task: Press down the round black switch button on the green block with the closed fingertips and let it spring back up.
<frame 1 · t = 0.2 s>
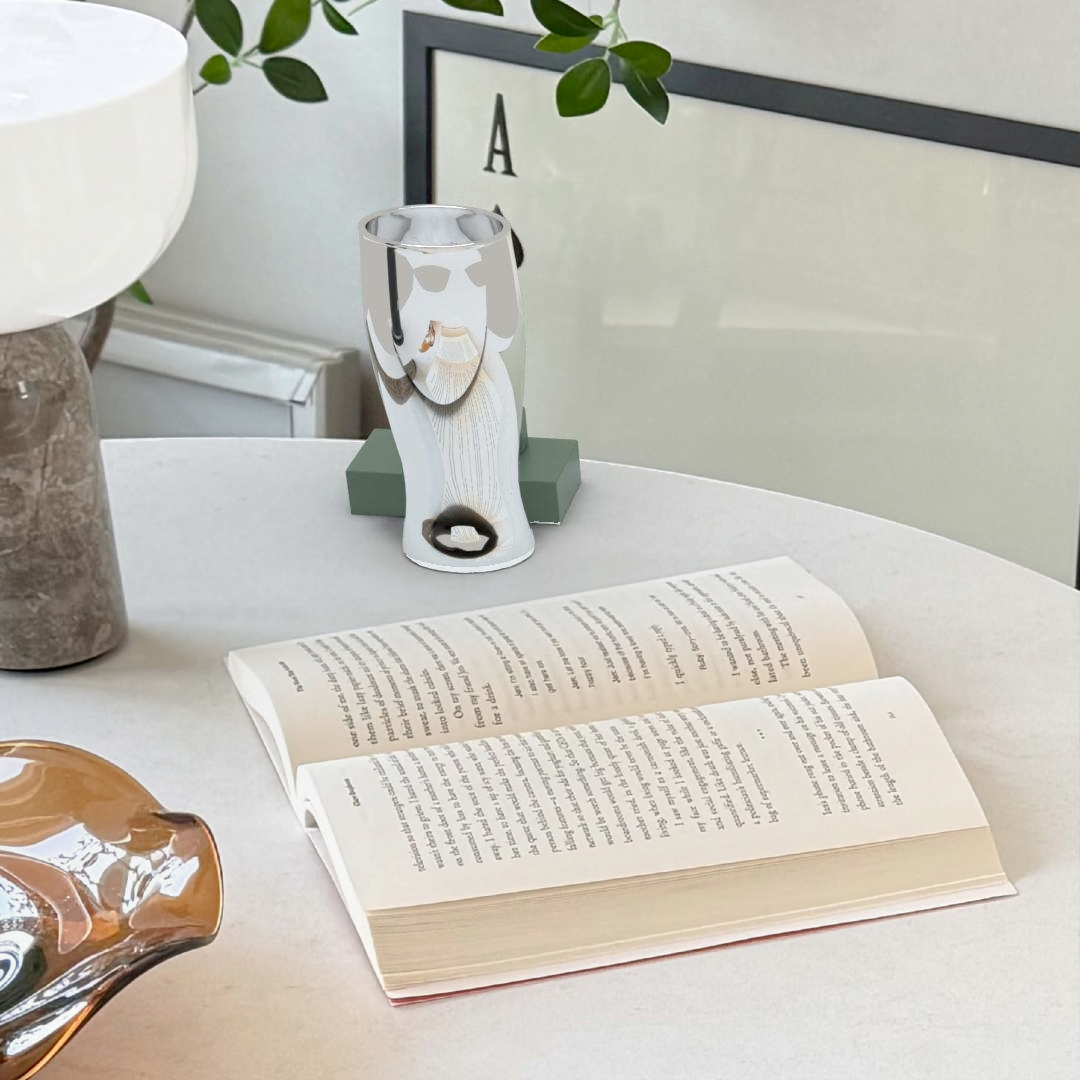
beer glass: (470, 553, 132), on the table
toaster button: (464, 399, 136), point 4 cm above the table, slide at 0.1 cm
green block: (468, 498, 137), on the table
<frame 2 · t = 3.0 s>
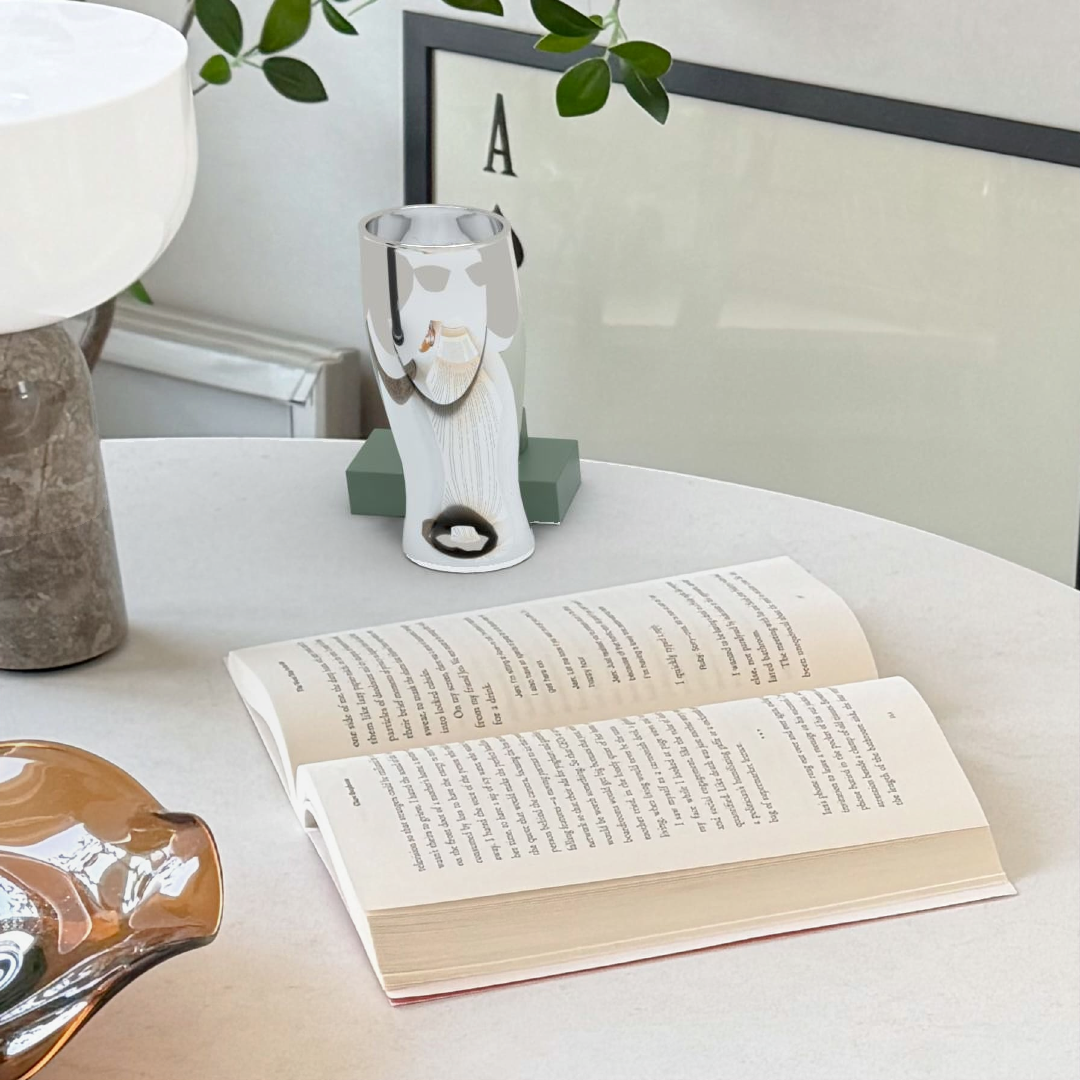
nothing on the table moved.
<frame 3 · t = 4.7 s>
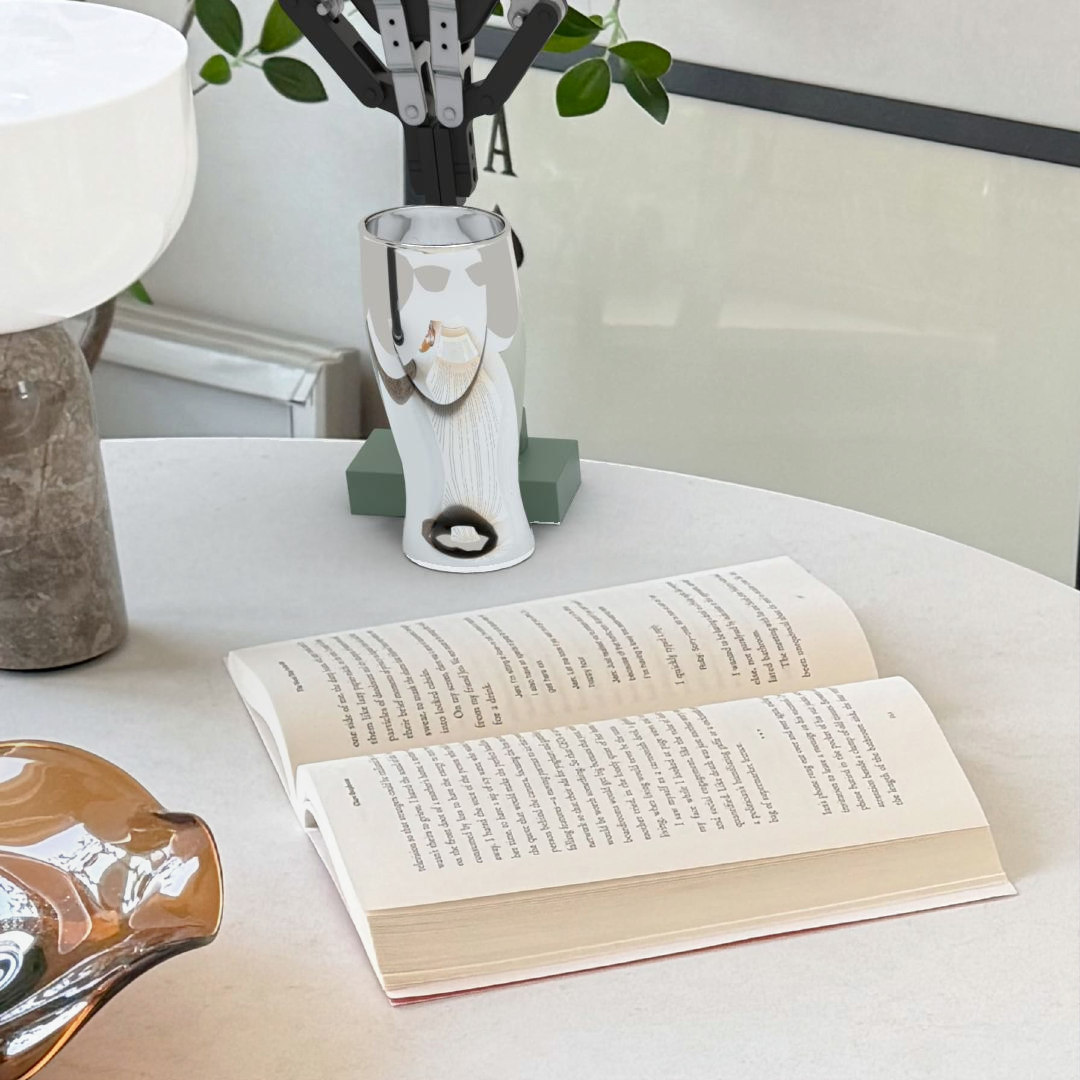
hand: (447, 204, 130), 14 cm above the table, tool pointing down, fingers closed
nothing on the table moved.
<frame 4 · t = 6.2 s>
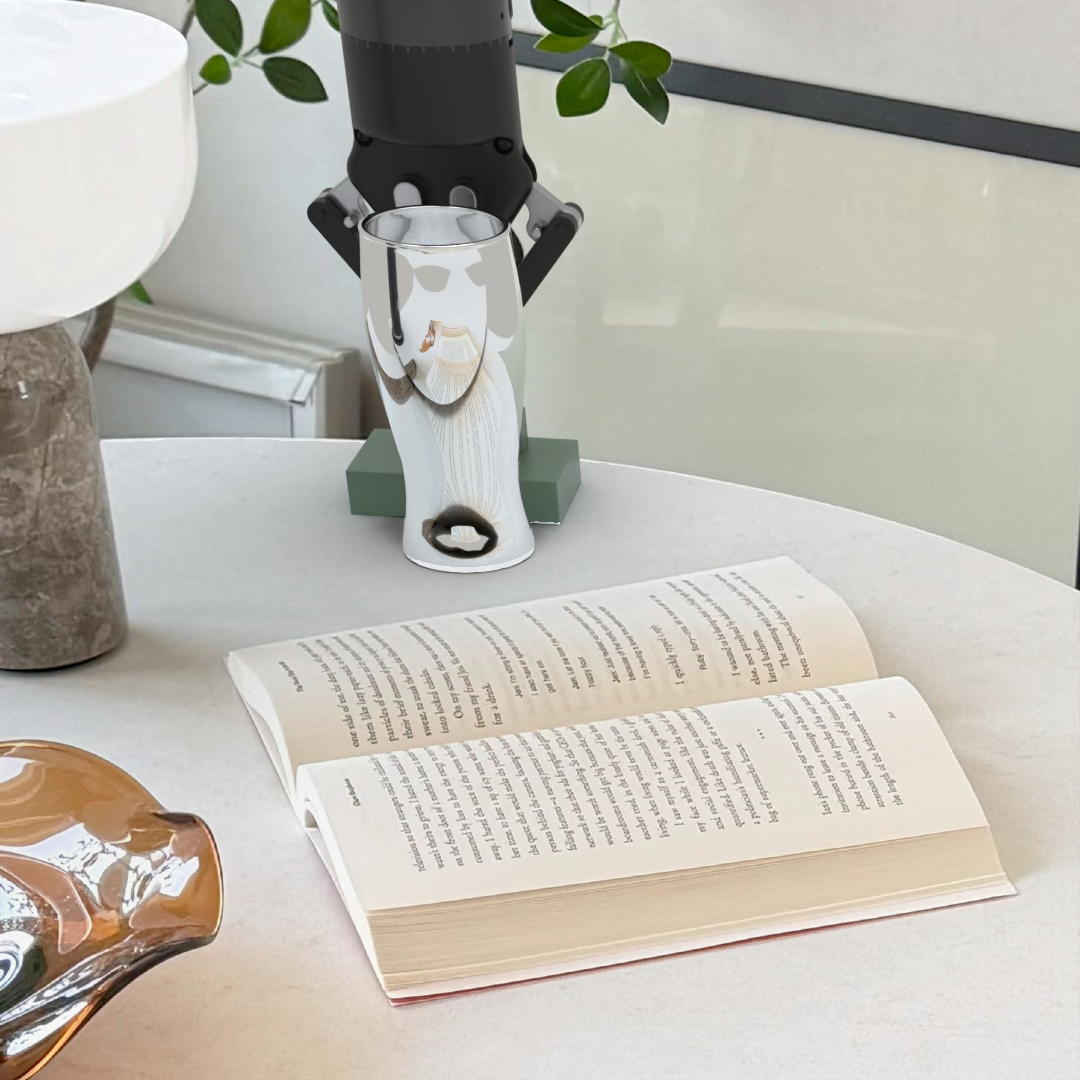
hand: (467, 400, 136), 4 cm above the table, tool pointing down, fingers closed
toaster button: (466, 417, 136), point 4 cm above the table, slide at -0.8 cm, touching gripper
everything else where it was.
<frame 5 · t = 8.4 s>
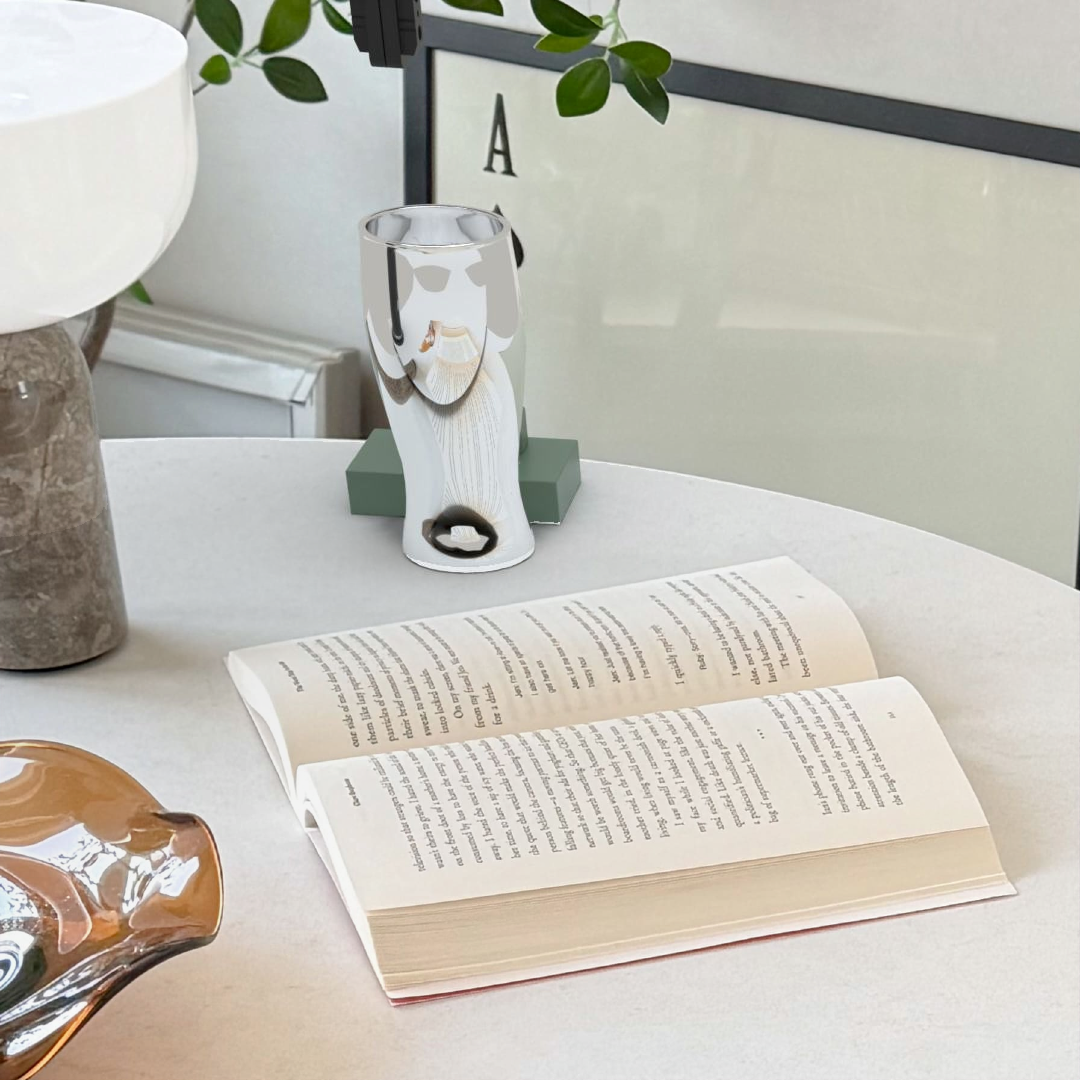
hand: (392, 63, 127), 20 cm above the table, tool pointing down, fingers closed
toaster button: (464, 399, 136), point 4 cm above the table, slide at 0.1 cm
everything else where it was.
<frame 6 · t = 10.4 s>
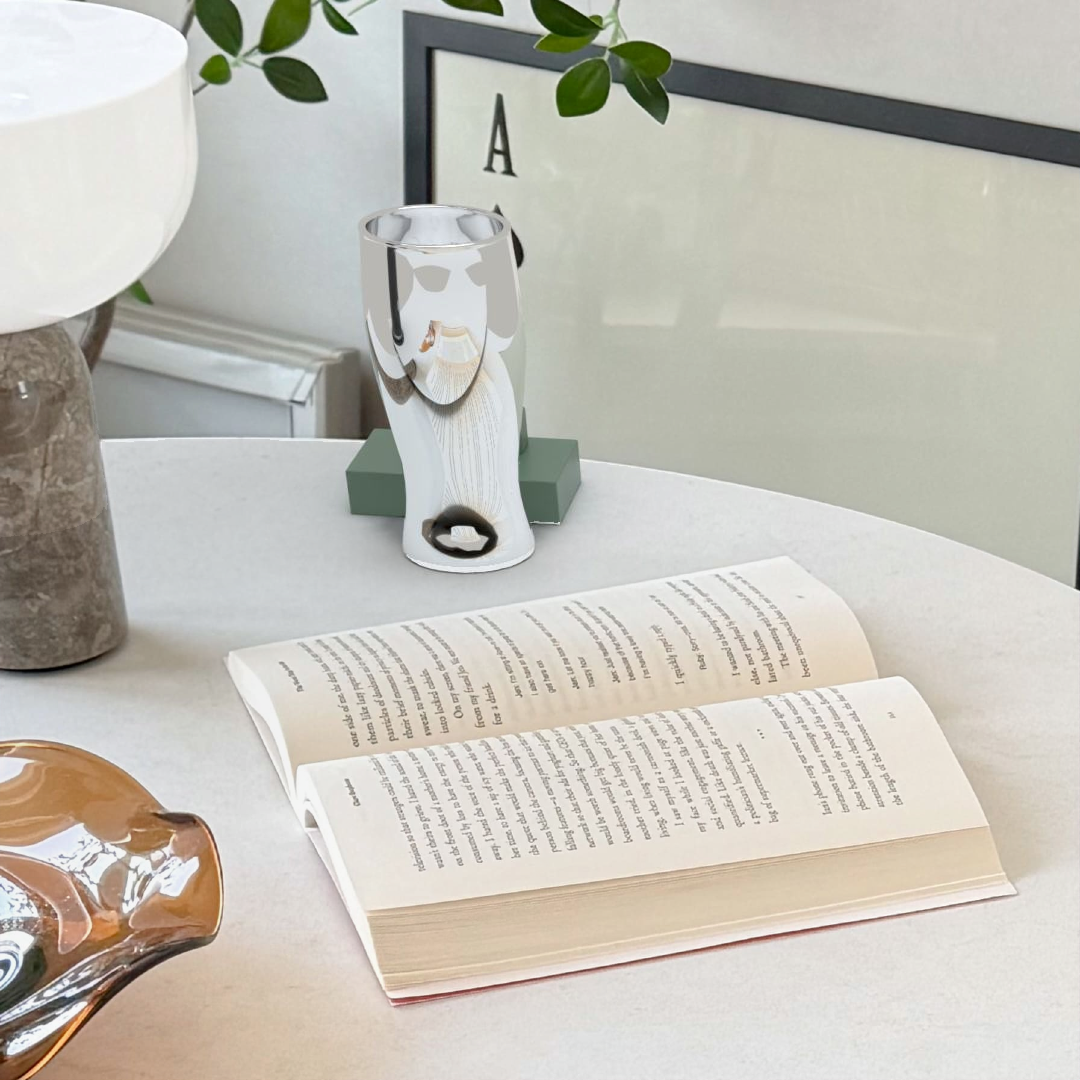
nothing on the table moved.
at the end: toaster button pushed in 1.1 cm at the most during the clip, back to where it started at the end; toaster button slide at 0.1 cm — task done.
